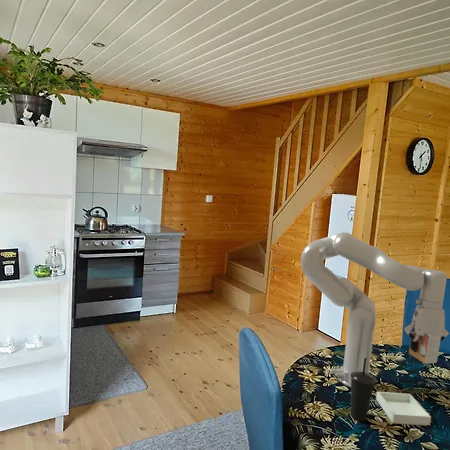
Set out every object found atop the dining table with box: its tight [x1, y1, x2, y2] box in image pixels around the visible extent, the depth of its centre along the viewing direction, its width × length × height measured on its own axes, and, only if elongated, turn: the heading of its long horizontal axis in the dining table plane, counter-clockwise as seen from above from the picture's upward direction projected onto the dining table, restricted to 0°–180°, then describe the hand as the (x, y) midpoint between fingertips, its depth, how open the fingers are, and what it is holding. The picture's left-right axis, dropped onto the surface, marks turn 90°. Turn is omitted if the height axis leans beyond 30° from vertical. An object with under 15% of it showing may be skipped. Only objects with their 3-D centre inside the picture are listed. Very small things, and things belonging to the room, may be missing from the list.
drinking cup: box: [350, 358, 376, 422], centre depth 129 cm, size 8×8×20 cm
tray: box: [375, 391, 432, 427], centre depth 135 cm, size 12×14×3 cm
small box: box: [408, 329, 441, 364], centre depth 145 cm, size 8×6×10 cm
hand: (423, 351), depth 145 cm, fingers closed on small box, 6 cm apart
